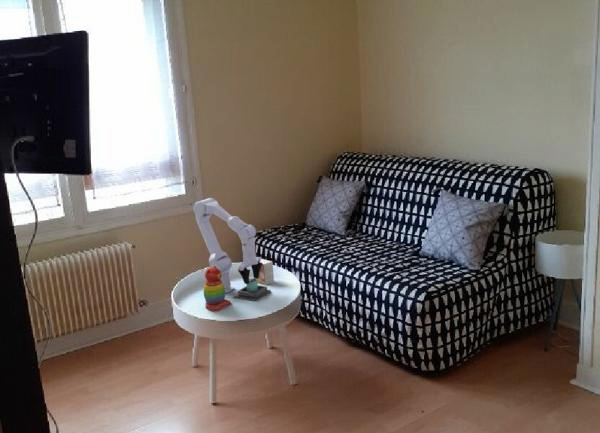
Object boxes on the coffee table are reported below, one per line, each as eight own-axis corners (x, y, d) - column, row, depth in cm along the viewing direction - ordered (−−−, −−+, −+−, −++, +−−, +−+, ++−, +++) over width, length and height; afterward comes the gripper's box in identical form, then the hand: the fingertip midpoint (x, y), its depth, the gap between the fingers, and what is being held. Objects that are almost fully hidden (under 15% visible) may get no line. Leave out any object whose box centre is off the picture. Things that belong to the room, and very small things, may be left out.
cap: (245, 294, 276) (243, 280, 274) (251, 290, 280) (250, 277, 278) (254, 295, 273) (252, 282, 271) (260, 291, 277) (259, 278, 276)
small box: (255, 281, 294) (253, 261, 292) (263, 278, 298) (262, 258, 296) (265, 285, 289) (263, 264, 286) (274, 282, 292) (272, 261, 290)
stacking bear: (217, 312, 259) (213, 272, 255) (199, 308, 264) (195, 270, 260) (233, 303, 268) (229, 265, 264) (215, 300, 273) (211, 262, 269)
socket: (234, 297, 275) (233, 291, 274) (249, 289, 285) (249, 283, 284) (256, 301, 269) (255, 294, 268) (271, 292, 278) (270, 286, 278)
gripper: (246, 257, 264) (249, 287, 267) (265, 248, 276) (267, 276, 279) (233, 256, 267) (236, 285, 271) (252, 247, 279) (255, 275, 283)
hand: (251, 280), depth 275 cm, fingers open, 7 cm apart
